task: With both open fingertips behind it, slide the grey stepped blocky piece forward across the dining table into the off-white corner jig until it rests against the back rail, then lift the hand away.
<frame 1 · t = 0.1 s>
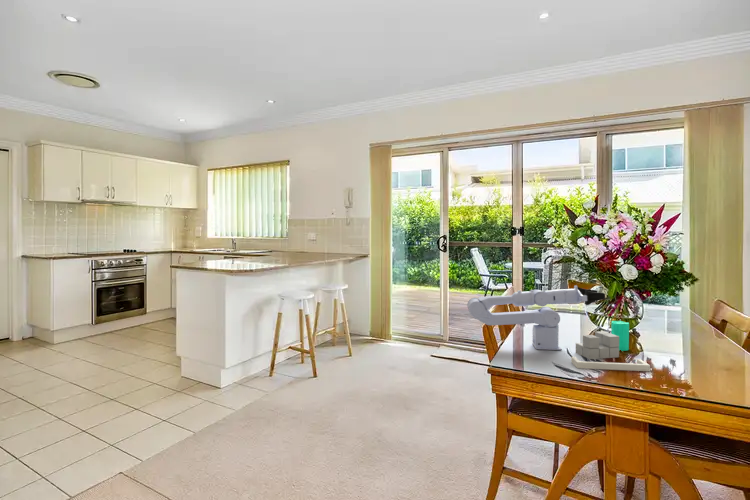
hand: (600, 294, 155), 22 cm above the table, tool horizontal, fingers open, 7 cm apart
candle: (619, 349, 156), on the table
grey stepped blocky piece: (593, 354, 151), on the table
corner jig: (604, 362, 140), on the table
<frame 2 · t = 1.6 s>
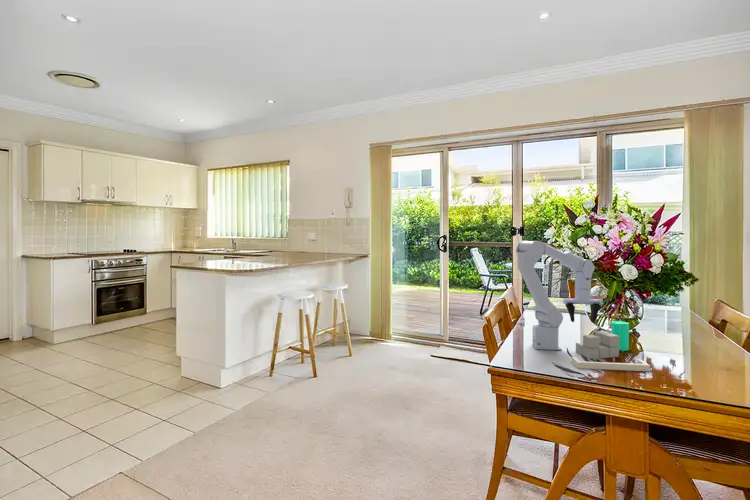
hand: (582, 321, 162), 9 cm above the table, tool pointing down, fingers open, 7 cm apart
nothing on the table moved.
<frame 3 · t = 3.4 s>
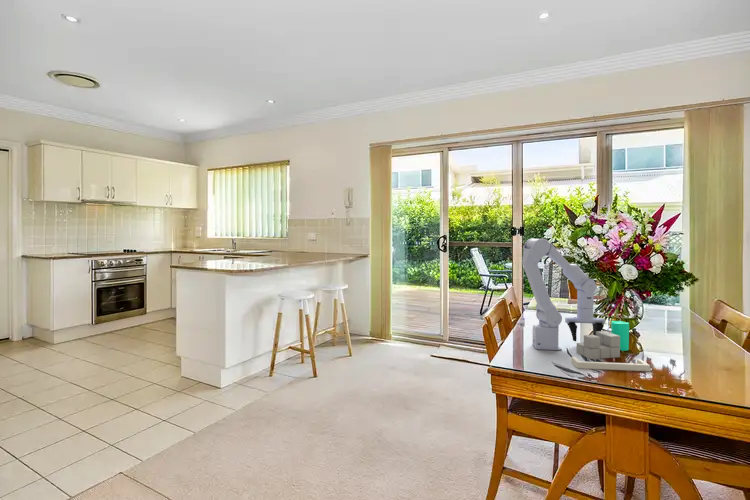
hand: (584, 341, 160), 2 cm above the table, tool pointing down, fingers open, 7 cm apart
nothing on the table moved.
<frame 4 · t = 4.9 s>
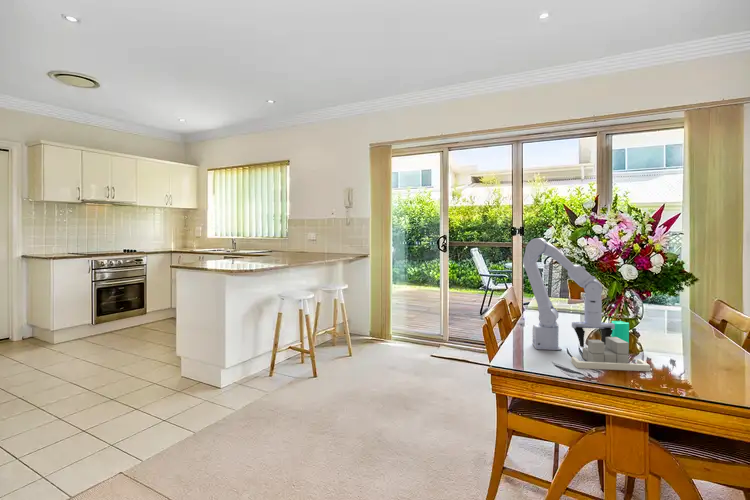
hand: (592, 347, 151), 2 cm above the table, tool pointing down, fingers open, 7 cm apart
grey stepped blocky piece: (601, 360, 144), on the table, touching gripper
everything else where it was.
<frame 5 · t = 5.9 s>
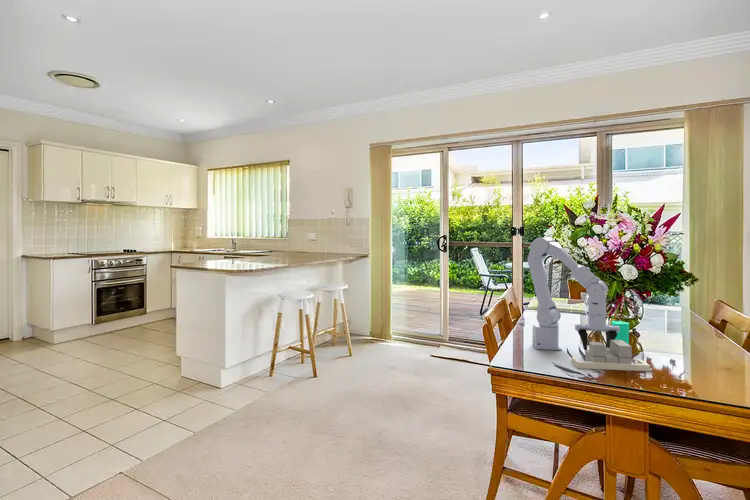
hand: (596, 350, 147), 2 cm above the table, tool pointing down, fingers open, 7 cm apart
grey stepped blocky piece: (605, 363, 140), on the table, touching corner jig, gripper
everything else where it was.
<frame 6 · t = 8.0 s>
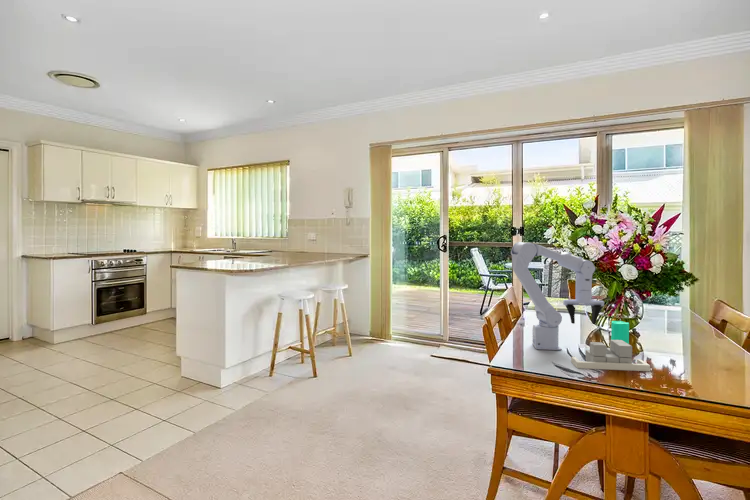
hand: (583, 323, 159), 9 cm above the table, tool pointing down, fingers open, 7 cm apart
grey stepped blocky piece: (605, 363, 140), on the table
everything else where it was.
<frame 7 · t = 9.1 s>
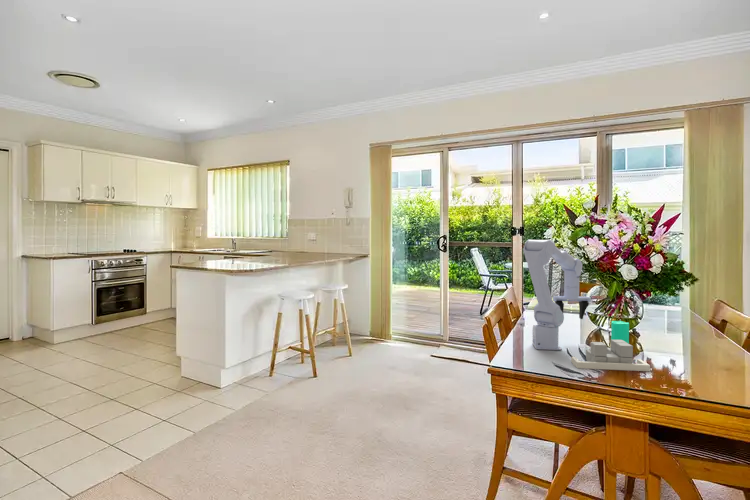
hand: (571, 318, 169), 9 cm above the table, tool pointing down, fingers open, 7 cm apart
nothing on the table moved.
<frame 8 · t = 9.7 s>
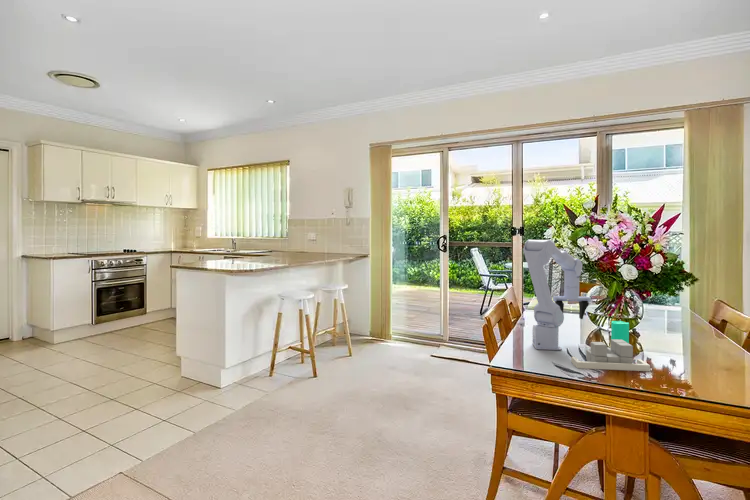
hand: (571, 318, 169), 9 cm above the table, tool pointing down, fingers open, 7 cm apart
nothing on the table moved.
at the end: grey stepped blocky piece 1.1 cm off-centre on the corner jig, point 0.0 cm above the corner jig's base; grey stepped blocky piece tilted 0° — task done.
